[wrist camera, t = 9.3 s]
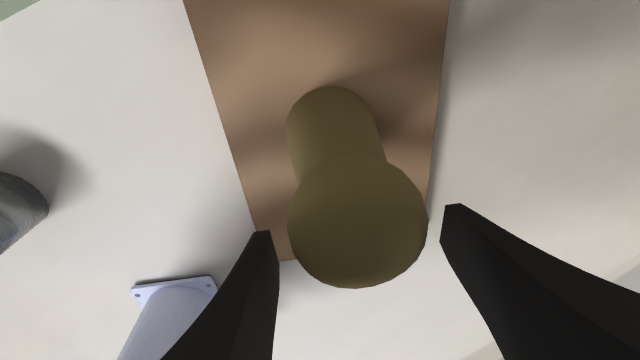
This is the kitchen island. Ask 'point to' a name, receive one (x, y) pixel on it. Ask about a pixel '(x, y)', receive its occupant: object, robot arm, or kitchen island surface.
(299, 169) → the olive peg
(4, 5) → the sage block
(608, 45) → the kitchen island surface
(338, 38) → the walnut board
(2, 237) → the grey domed cylinder
